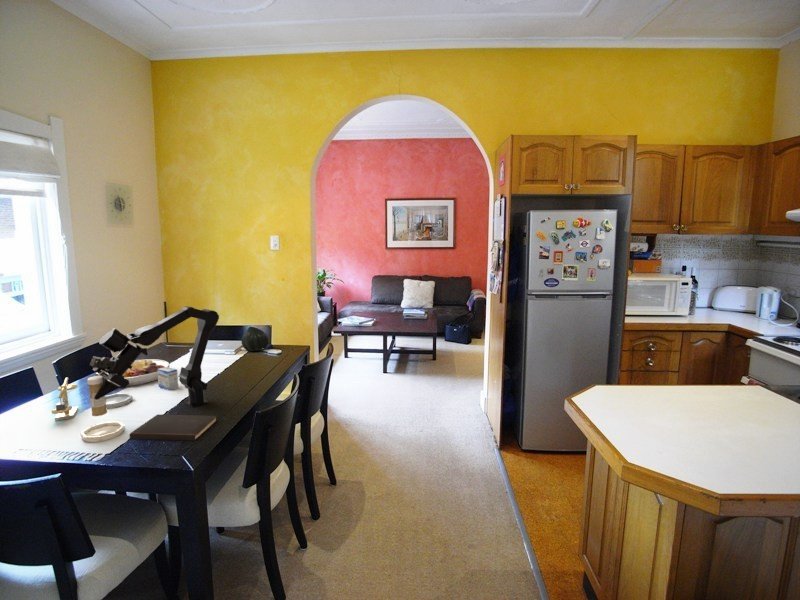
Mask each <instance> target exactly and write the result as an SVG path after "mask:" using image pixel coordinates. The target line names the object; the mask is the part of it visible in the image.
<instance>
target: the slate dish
mask: <svg viewBox="0 0 800 600" xmlns="http://www.w3.org/2000/svg"><path fill="white" fill-rule="evenodd" d="M133 397H134V396H133V395H131V394H130V393H129V392H125V393H124V392H123V393H122V392H119V393H118V392H117V393H112V394H107V395H105V398H106V408H107V409H114V408H120V407H122V406H125V405H127V404H129V402H132V400H133ZM119 406H120V407H119Z"/></svg>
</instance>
